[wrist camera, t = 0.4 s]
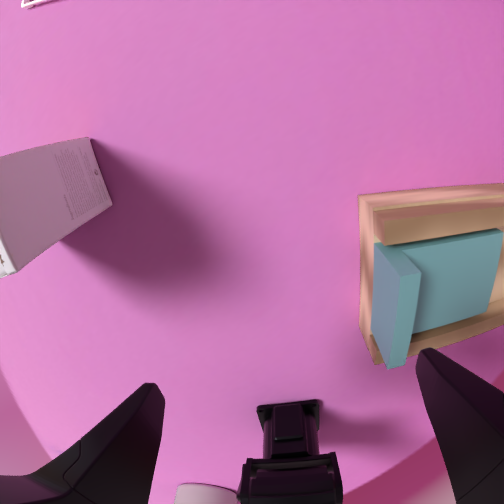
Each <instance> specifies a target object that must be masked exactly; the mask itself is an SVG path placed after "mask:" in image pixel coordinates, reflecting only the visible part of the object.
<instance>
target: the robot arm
mask: <svg viewBox="0 0 504 504" xmlns="http://www.w3.org/2000/svg"><path fill="white" fill-rule="evenodd" d="M416 375H417V378H418V382H419V385H420V389H421V392H422V396H423V400H424V404H425V407H426V410H427V413H428V416H429V419H430V421H431V424H432V427H433V429H434V432H435V435H436V438H437V441H438V443H439V446H440V449H441V452H442V455H443V458H444V462H445V465H446V468H447V471H448V475H449V478H450V481H451V485H452V489H453V492H454V496H455V500H456V504H504V393H503V392H502V391H500V390H499V389H497V388H496V387H494V386H493V385H491V384H490V383H488V382H486V381H485V380H483V379H482V378H480V377H478V376H477V375H475V374H474V373H472V372H470V371H469V370H467V369H466V368H464V367H462V366H461V365H459V364H458V363H456V362H454V361H453V360H451V359H450V358H448V357H446V356H445V355H443V354H442V353H440V352H438V351H437V350H435V349H434V348H431V347H429V348H425V349H422V350H420V352H419V355H418V359H417V363H416ZM164 409H165V398H164V396H163V394H162V393H161V391H160V389H159V388H158V386H157V385H156V384H155V383H144V384H143V385H142V386H140V387H139V388H138V389H137V390H136V391H135V392H134V393H133V394H131V395H130V396H129V397H128V398H127V399H126V400H125V401H123V402H122V403H121V404H120V405H119V406H118V407H117V408H116V409H114V410H113V411H112V412H111V413H110V414H109V415H107V416H106V417H105V418H104V419H103V420H102V421H101V422H99V423H98V424H97V425H96V426H95V427H94V428H92V429H91V430H90V431H89V432H88V433H87V434H85V435H84V436H83V437H82V438H81V440H78V441H77V442H76V443H75V444H74V445H72V446H71V447H70V448H69V449H67V450H66V451H65V452H63V453H62V454H61V455H59V456H58V457H56V458H55V459H54V460H52V461H51V462H49V463H48V464H46V465H45V466H43V467H42V468H40V469H38V470H37V471H35V472H33V473H31V474H28V475H23V476H3V475H0V504H148V500H149V495H150V490H151V485H152V480H153V475H154V470H155V465H156V461H157V456H158V451H159V447H160V442H161V436H162V428H163V418H164ZM257 414H258V417H259V420H260V423H261V426H262V429H263V433H264V440H263V459H253V458H247V461H246V464H243V467H242V477H241V481H240V485H239V488H238V491H237V494H236V499H237V500H238V501H239V502H241V504H342V502H343V486H342V480H341V475H340V471H339V466H338V462H337V457H336V453H335V452H330V453H328V454H319V445H318V435H317V431H318V430H319V402H318V401H317V400H310V401H303V402H294V403H285V404H275V405H263V406H258V407H257Z"/></svg>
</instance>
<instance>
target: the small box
mask: <svg viewBox="0 0 504 504" xmlns="http://www.w3.org/2000/svg"><path fill="white" fill-rule="evenodd" d="M110 206H112V201H111V199H110V196H109V193H108V191H107V188H106V185H105V183H104V180H103V177H102V175H101V172H100V169H99V166H98V164H97V161H96V158H95V155H94V152H93V149H92V146H91V143H90V139H89V137H85V138H79V139H73V140H68V141H63V142H58V143H53V144H48V145H44V146H39V147H35V148H31V149H27V150H23V151H19V152H16V153H12V154H9V155H5V156H2V157H0V278H2V277H5V276H8V275H11V274H14V273H17V272H18V271H19V270H21V269H22V268H23V267H24V266H26V265H27V264H28V263H29V262H31V261H32V260H33V259H35V258H36V257H37V256H39V255H40V254H41V253H43V252H44V251H45V250H47V249H48V248H49V247H51V246H52V245H54V244H55V243H57V242H58V241H59V240H61V239H62V238H64V237H65V236H67V235H68V234H70V233H71V232H73V231H74V230H75V229H77V228H78V227H80V226H81V225H83V224H84V223H86V222H87V221H89V220H90V219H92V218H93V217H95V216H97V215H98V214H100V213H101V212H103V211H104V210H106V209H107V208H109V207H110Z"/></svg>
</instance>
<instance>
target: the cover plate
mask: <svg viewBox="0 0 504 504" xmlns="http://www.w3.org/2000/svg"><path fill="white" fill-rule="evenodd" d="M503 234H504V232H502V231H501V230H499V229H497V228H492V229H486V230H480V231H474V232H468V233H462V234H456V235H450V236H444V237H437V238H431V239H425V240H419V241H412V242H406V243H400V244H393V245H387V246H384V245H383V244H382V243H381V242H378V243H374V270H373V297H372V314H371V327H370V329H371V331H372V334H373V336H374V338H375V341H376V343H377V345H378V348H379V350H380V353H381V355H382V358H383V360H384V362H385V365H386V367H387V369H391V368H395V367H399V366H403V365H405V362H406V358H407V353H408V349H409V345H410V340H411V335H412V334H414V333H418V332H422V331H426V330H429V329H433V328H436V327H440V326H443V325H447V324H450V323H453V322H457V321H460V320H463V319H466V318H469V317H472V316H475V315H478V314H481V313H484V312H486V311H487V308H488V304H489V301H490V297H491V293H492V289H493V285H494V281H495V277H496V273H497V268H498V263H499V258H500V253H501V247H502V241H503Z"/></svg>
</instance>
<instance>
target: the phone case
mask: <svg viewBox="0 0 504 504" xmlns="http://www.w3.org/2000/svg"><path fill="white" fill-rule="evenodd" d="M29 1H30V0H23V1H22V4H21V7H22V8H26V9H28V8H31V7H33V5H34V4H37V3H40V2H43V1H47V0H35V1H32V2H29Z"/></svg>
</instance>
